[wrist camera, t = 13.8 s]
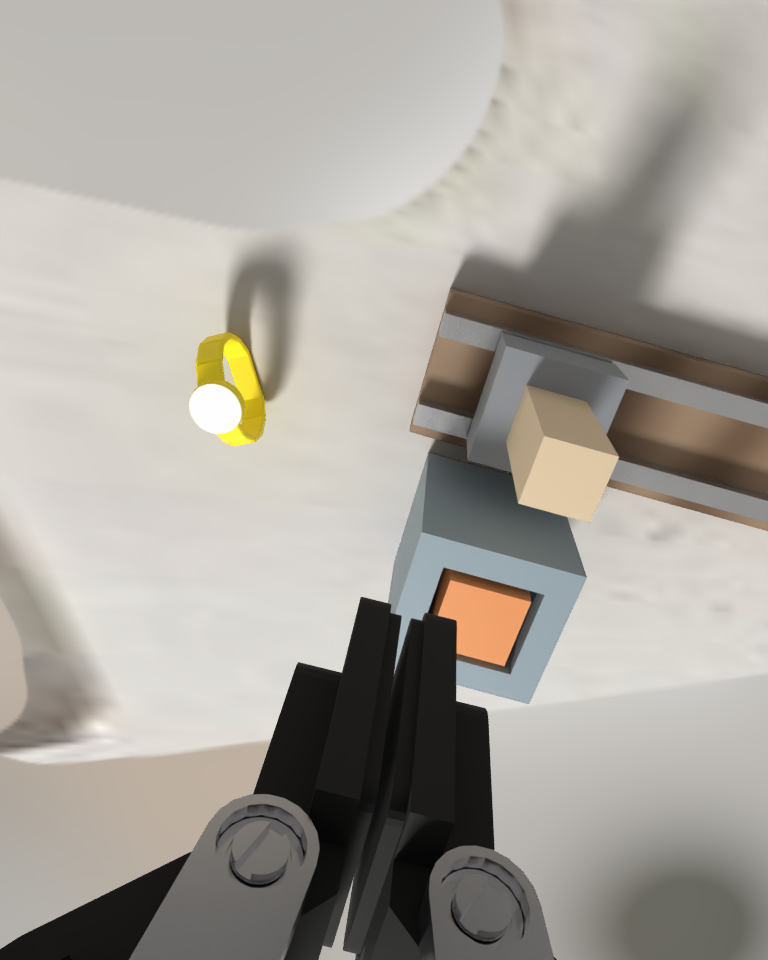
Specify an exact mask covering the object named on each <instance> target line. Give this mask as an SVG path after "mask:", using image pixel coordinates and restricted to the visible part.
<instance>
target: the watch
mask: <svg viewBox="0 0 768 960" xmlns="http://www.w3.org/2000/svg"><path fill="white" fill-rule="evenodd" d="M223 355H224V356H225V357H226V359H227V360H228V363H229V366H230V369H231V372H232V375H233V378H234V381H235V384H236V387H237V388H236V387H235V386H234V385H232V384H230V383H229V382H227V381H225V379H224V371H223V362H222V361H223ZM196 365H197V366H196V374H197V383H198V387H197V388H196V389H195V390H194V391H193V393H192V395H191V397H190V402H189V409H190V414H191V416H192V418H193V420H194V421H195V423H196V424H197V425H198V426H199V427H200V428H202V429H204V430H206V431H207V432H210V433H214V434H217V435H218V436H219V437H220V439H221V440H222V441H223V442H225V443H227V444H229V445H232V446H238V445H243V444H248V443H253V442H256V441H257V440H258V439H259V438H260V437H261V436H262V434H263V430H264V425H265V417H266V415H265V401H264V394H262V390H261V387H260V384H259V381H258V378H257V375H256V371H255V368H254V365H253V362H252V359H251V355H250V351H249V350H248V348H247V347H246V346H245V344H244V343H243V341H242V340H241V339H240V338H239V337H238V336H236V335H234V334H232V333H230V332H227V333H223V334H219V335H215V336H210V337H207V338H206V339H205V340H204V341H203V342H202V343H200V345H199V347H198V353H197V359H196ZM241 421H242V423H241V424H240V422H241Z"/></svg>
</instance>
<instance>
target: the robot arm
mask: <svg viewBox="0 0 768 960" xmlns="http://www.w3.org/2000/svg"><path fill="white" fill-rule="evenodd" d="M390 612H391V604H388V603H384V602H380V601H376V600H372V599H368V598H364V597H361V599H360V603H359V607H358V611H357V615H356V619H355V623H354V627H353V631H352V635H351V639H350V643H349V647H348V651H347V655H346V659H345V663H344V667H343V671H342V673H340V672H336V671H332V670H328V669H324V668H319V667H315V666H311V665H307V664H303V663H299V662H298V664H297V666H296V669H295V671H294V674H293V677H292V680H291V683H290V686H289V689H288V692H287V695H286V698H285V701H284V704H283V707H282V710H281V713H280V716H279V719H278V722H277V725H276V728H275V731H274V734H273V737H272V740H271V743H270V746H269V749H268V752H267V755H266V758H265V761H264V764H263V767H262V770H261V773H260V775H259V778H258V781H257V784H256V787H255V790H254V793H253V795H248V796H245V797H241V798H238V799H235V800H233V801H231V802H230V803H228V804H227V805H225V806H224V807H222V808H221V809H220V810H219V811H218V812H217V813H216V814H215V816H214V817H213V818H212V819H211V821H210V822H209V823H208V825H207V827H206V828H205V830H204V832H203V833H202V835H201V837H200V839H199V840H198V842H197V844H196V846H195V847H194V849H193V851H192V852H190V853H188V854H186V855H184V856H182V857H180V858H178V859H176V860H174V861H171V862H169V863H167V864H165V865H163V866H161V867H160V868H157V869H155V870H153V871H151V872H149V873H147V874H145V875H143V876H141V877H139V878H137V879H135V880H133V881H131V882H129V883H127V884H125V885H123V886H121V887H119V888H117V889H115V890H113V891H111V892H109V893H107V894H105V895H103V896H101V897H99V898H97V899H95V900H93V901H91V902H89V903H87V904H85V905H83V906H81V907H79V908H77V909H75V910H73V911H71V912H69V913H66V914H65V915H63V916H61V917H58V918H56V919H55V920H53V921H51V922H48V923H46V924H44V925H42V926H40V927H38V928H36V929H34V930H32V931H30V932H28V933H26V934H24V935H22V936H20V937H19V938H17V939H15V940H14V941H12V942H11V943H9V944H8V945H6V946H5V947H3V948H2V949H0V960H318V959H319V955H320V952H321V949H322V945H323V946H327V947H332V945H333V942H334V939H335V936H336V932H337V929H338V926H339V923H340V919H341V916H342V913H343V910H344V906H345V903H346V899H347V897H348V893H349V890H350V887H351V883H352V880H353V887H352V892H351V899H350V906H349V912H348V918H347V925H346V932H345V939H344V947H343V950H344V951H347V952H351V953H355V954H356V959H355V960H556V959H555V957H554V956H553V952H552V948H551V944H550V940H549V936H548V932H547V928H546V924H545V920H544V916H543V912H542V908H541V905H540V901H539V899H538V896H537V894H536V891H535V889H534V887H533V885H532V884H531V882H530V881H529V879H528V878H527V877H526V875H525V874H524V872H523V871H522V870H521V869H520V868H519V867H517V866H516V865H515V864H514V863H513V862H512V861H511V860H510V859H508V858H507V857H505V856H503V855H501V854H499V853H498V852H496V851H494V834H493V833H494V831H493V810H492V790H491V769H490V768H491V767H490V747H489V746H490V745H489V724H488V713H487V711H486V709H485V708H482V707H478V706H473V705H469V704H465V703H461V702H457V701H456V661H457V621H456V620H453V619H449V618H445V617H441V616H437V615H433V614H429V613H425V614H424V616H423V619H422V620H418V619H413V618H411V620H410V622H409V626H408V629H407V633H406V636H405V639H404V643H403V646H402V650H401V653H400V657H399V660H398V664H397V667H396V670H395V663H396V656H397V648H398V641H399V634H400V626H401V619H402V616H401V615H397V614H393V613H390ZM394 670H395V674H394ZM353 877H354V879H353Z"/></svg>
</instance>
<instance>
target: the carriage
mask: <svg viewBox="0 0 768 960" xmlns="http://www.w3.org/2000/svg"><path fill="white" fill-rule="evenodd" d="M628 383H629V380H628V378H627V377H626V376H625V375H624V374H623V373H622V371H621V370H620V369H619V368H618V367H617V365H616V364H612V363H609V362H605V361H601V360H598V359H594V358H591V357H587V356H584V355H580V354H577V353H573V352H569V351H566V350H562V349H559V348H555V347H552V346H548V345H545V344H541V343H537V342H534V341H530V340H527V339H523V338H520V337H516V336H513V335H509V334H505V333H502V334H501V337H500V340H499V343H498V346H497V349H496V352H495V355H494V358H493V361H492V364H491V367H490V370H489V373H488V376H487V379H486V382H485V385H484V388H483V391H482V394H481V397H480V400H479V403H478V406H477V409H476V412H475V415H474V418H473V421H472V424H471V427H470V430H469V433H468V436H467V439H466V440H467V459H468V461H472V462H475V463H479V464H483V465H486V466H490V467H493V468H497V469H501V470H504V471H508V472H512V475H513V480H514V485H515V490H516V495H517V500H518V504H522V505H525V506H529V507H533V508H536V509H540V510H544V511H547V512H551V513H555V514H558V515H562V516H565V517H569V518H573V519H576V520H580V521H584V522H587V523H590V522H591V520H592V517H593V515H594V513H595V511H596V508H597V506H598V504H599V501H600V499H601V497H602V495H603V492H604V490H605V488H606V486H607V483H608V481H609V479H610V477H611V474H612V472H613V470H614V468H615V465H616V463H617V461H618V458H619V456H618V454H617V452H616V451H615V449H614V447H613V445H612V444H611V442H610V440H609V439H608V437H607V432H608V430H609V428H610V425H611V423H612V421H613V418H614V416H615V413H616V411H617V409H618V406H619V404H620V402H621V399H622V397H623V395H624V392H625V390H626V388H627V385H628Z"/></svg>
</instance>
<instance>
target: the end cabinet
mask: <svg viewBox="0 0 768 960" xmlns="http://www.w3.org/2000/svg"><path fill="white" fill-rule="evenodd" d="M444 568H448V569H452V570H455V571H459V572H463V573H466V574H470V575H474V576H477V577H481V578H485V579H488V580H492V581H496V582H499V583H503V584H507V585H510V586H514V587H518V588H521V589H525V590H529V592H530V597H531V604H530V607H529V609H528V611H527V614H526V616H525V618H524V621H523V623H522V626H521V628H520V630H519V633H518V635H517V637H516V640H515V642H514V644H513V647H512V649H511V652H510V654H509V656H508V659H507V661H506V663H505V666H502V665H498V664H494V663H490V662H487V661H483V660H479V659H476V658H472V657H468V656H464V655H461V654H457V661H456V685H459V686H463V687H467V688H470V689H474V690H478V691H482V692H485V693H489V694H493V695H496V696H500V697H504V698H508V699H511V700H515V701H519V702H522V703H526V704H529V703H530V701H531V698H532V696H533V694H534V692H535V690H536V687H537V685H538V683H539V681H540V679H541V677H542V674H543V672H544V670H545V668H546V666H547V663H548V661H549V659H550V657H551V655H552V652H553V650H554V648H555V646H556V644H557V642H558V639H559V637H560V635H561V633H562V631H563V628H564V626H565V624H566V622H567V620H568V617H569V615H570V613H571V611H572V609H573V607H574V604H575V602H576V600H577V598H578V596H579V593H580V591H581V589H582V587H583V585H584V582H585V580H586V578H587V577H586V574H585V571H584V568H583V565H582V561H581V558H580V555H579V552H578V549H577V546H576V543H575V540H574V537H573V534H572V531H571V528H570V525H569V522H568V519H567V517H565V516H562V515H558V514H555V513H551V512H547V511H544V510H540V509H536V508H533V507H529V506H525V505H522V504H518V500H517V495H516V490H515V485H514V480H513V476H512V475H508V474H504V473H501V472H497V471H494V470H490V469H486V468H483V467H479V466H476V465H472V464H468V463H465V462H461V461H457V460H454V459H450V458H447V457H443V456H439V455H436V454H432V453H428V456H427V459H426V462H425V465H424V469H423V472H422V475H421V478H420V482H419V485H418V488H417V491H416V494H415V498H414V501H413V504H412V507H411V510H410V514H409V517H408V520H407V523H406V527H405V530H404V533H403V536H402V539H401V543H400V546H399V549H398V552H397V555H396V559H395V562H394V567H393V574H392V581H391V587H390V594H389V601H388V604H391V612H390V613H393V614H397V615H401V616H402V619H401V626H400V634H399V641H398V648H397V656H396V663H395V668H396V667H397V664H398V660H399V657H400V653H401V650H402V646H403V643H404V639H405V636H406V633H407V629H408V626H409V622H410V620H411V618H413V619H418V620H422V619H423V616H424V614H425V613H429V610H430V607H431V604H432V601H433V598H434V595H435V592H436V590H437V587H438V584H439V581H440V578H441V575H442V572H443V569H444Z"/></svg>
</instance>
